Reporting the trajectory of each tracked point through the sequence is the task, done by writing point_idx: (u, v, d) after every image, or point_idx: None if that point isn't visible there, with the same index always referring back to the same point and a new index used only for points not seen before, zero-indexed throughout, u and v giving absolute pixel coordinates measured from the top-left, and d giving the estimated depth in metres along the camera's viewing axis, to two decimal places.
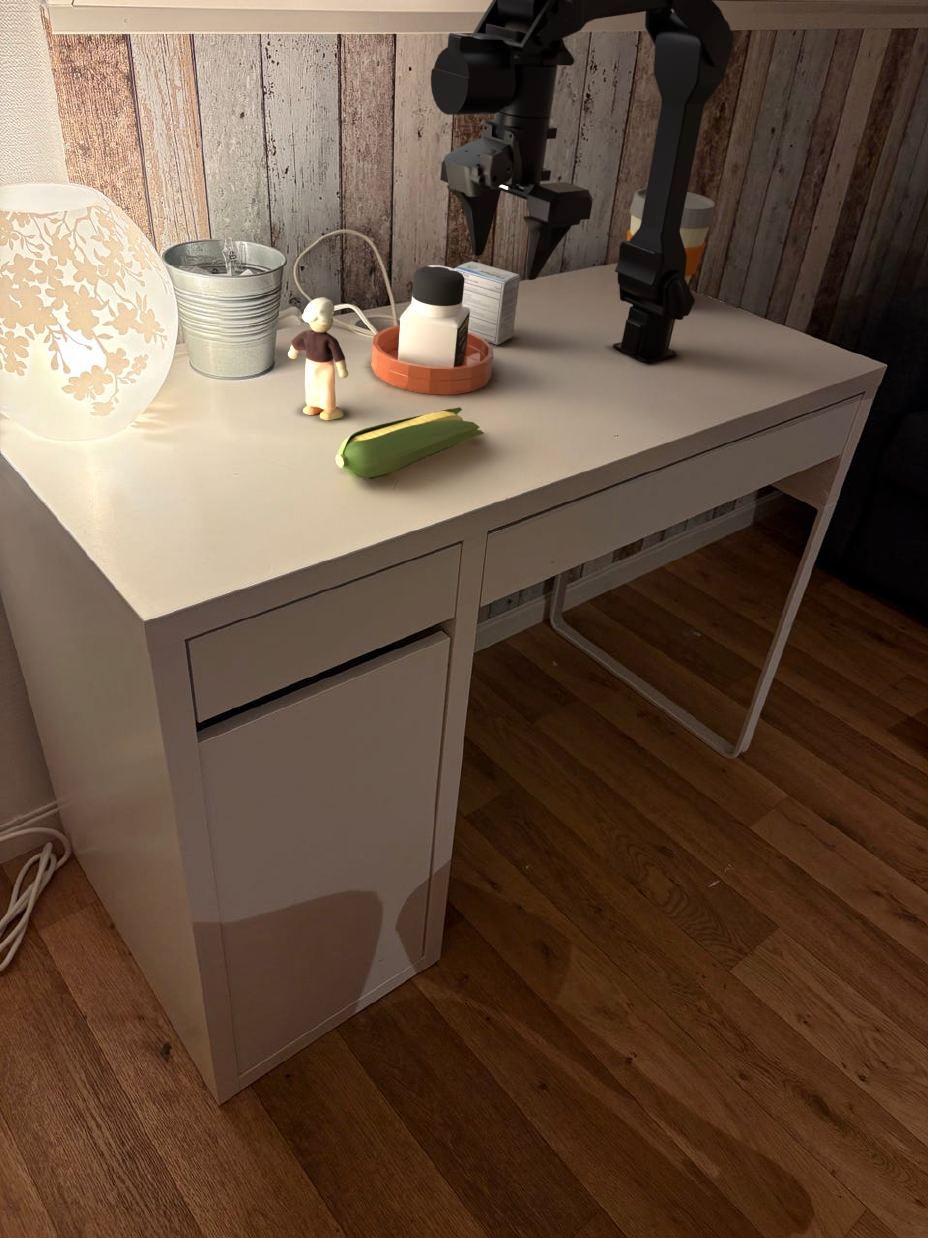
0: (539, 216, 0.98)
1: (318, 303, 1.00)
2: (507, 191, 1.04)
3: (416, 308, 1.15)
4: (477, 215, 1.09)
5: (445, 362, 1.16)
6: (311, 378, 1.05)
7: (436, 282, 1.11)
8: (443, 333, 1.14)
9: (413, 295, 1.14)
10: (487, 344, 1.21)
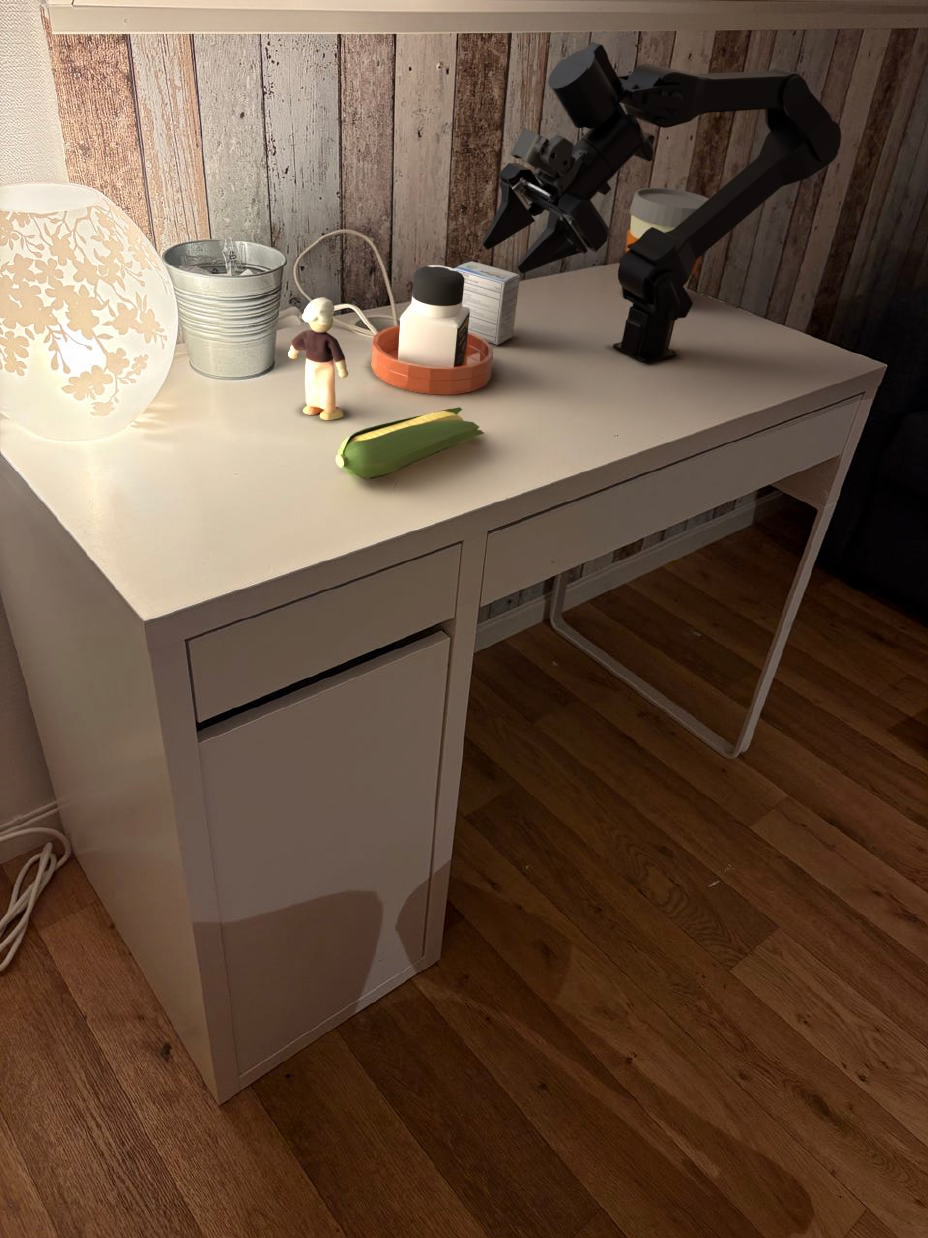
0: (565, 208, 1.07)
1: (318, 303, 1.00)
2: (544, 204, 1.15)
3: (416, 308, 1.15)
4: (506, 216, 1.18)
5: (445, 362, 1.16)
6: (311, 378, 1.05)
7: (436, 282, 1.11)
8: (443, 333, 1.14)
9: (413, 295, 1.14)
10: (487, 344, 1.21)
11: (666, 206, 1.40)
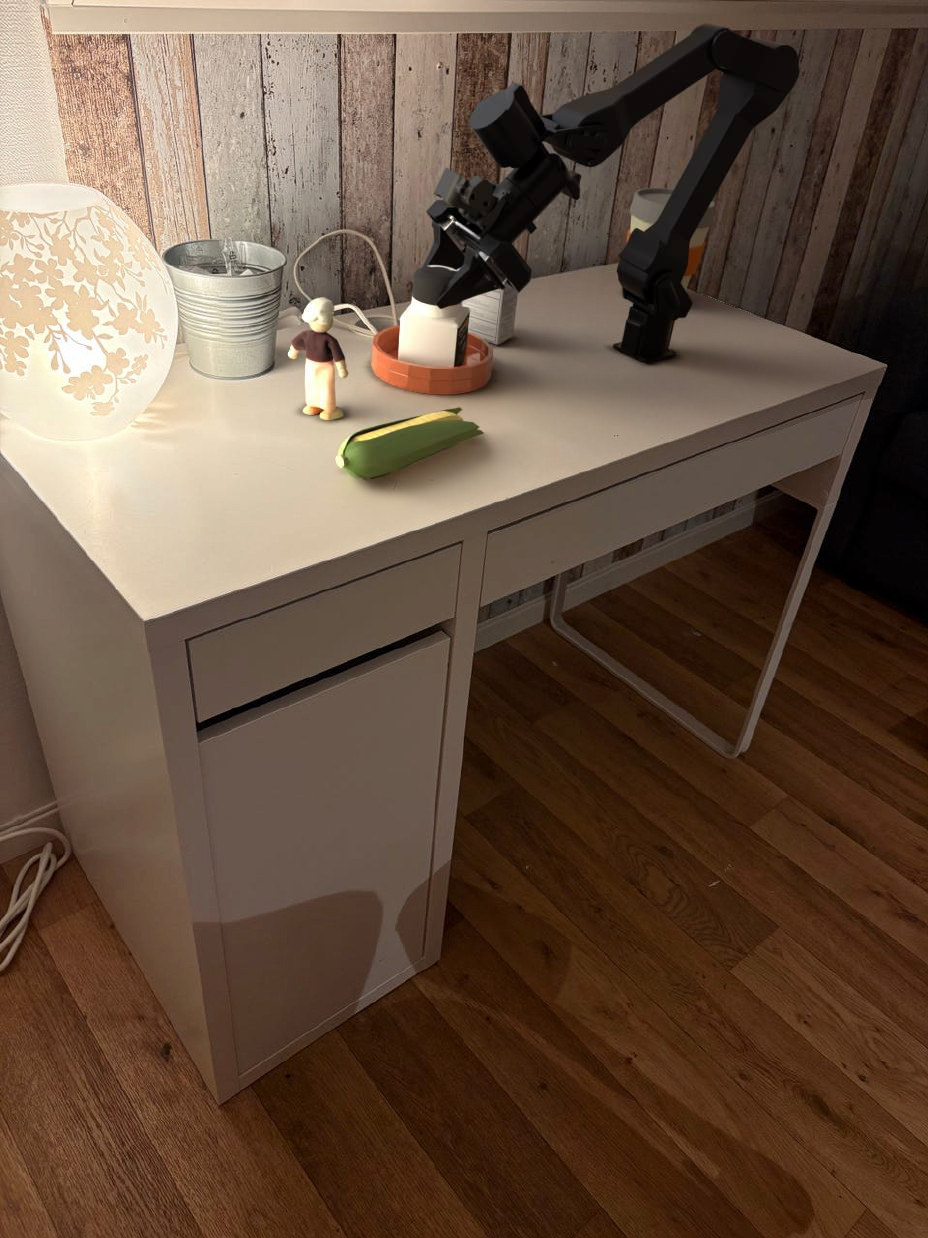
0: (485, 250, 1.06)
1: (318, 303, 1.00)
2: (470, 243, 1.14)
3: (416, 308, 1.15)
4: (438, 257, 1.16)
5: (445, 362, 1.16)
6: (311, 378, 1.05)
7: (436, 282, 1.11)
8: (443, 333, 1.14)
9: (413, 295, 1.14)
10: (487, 344, 1.21)
11: None
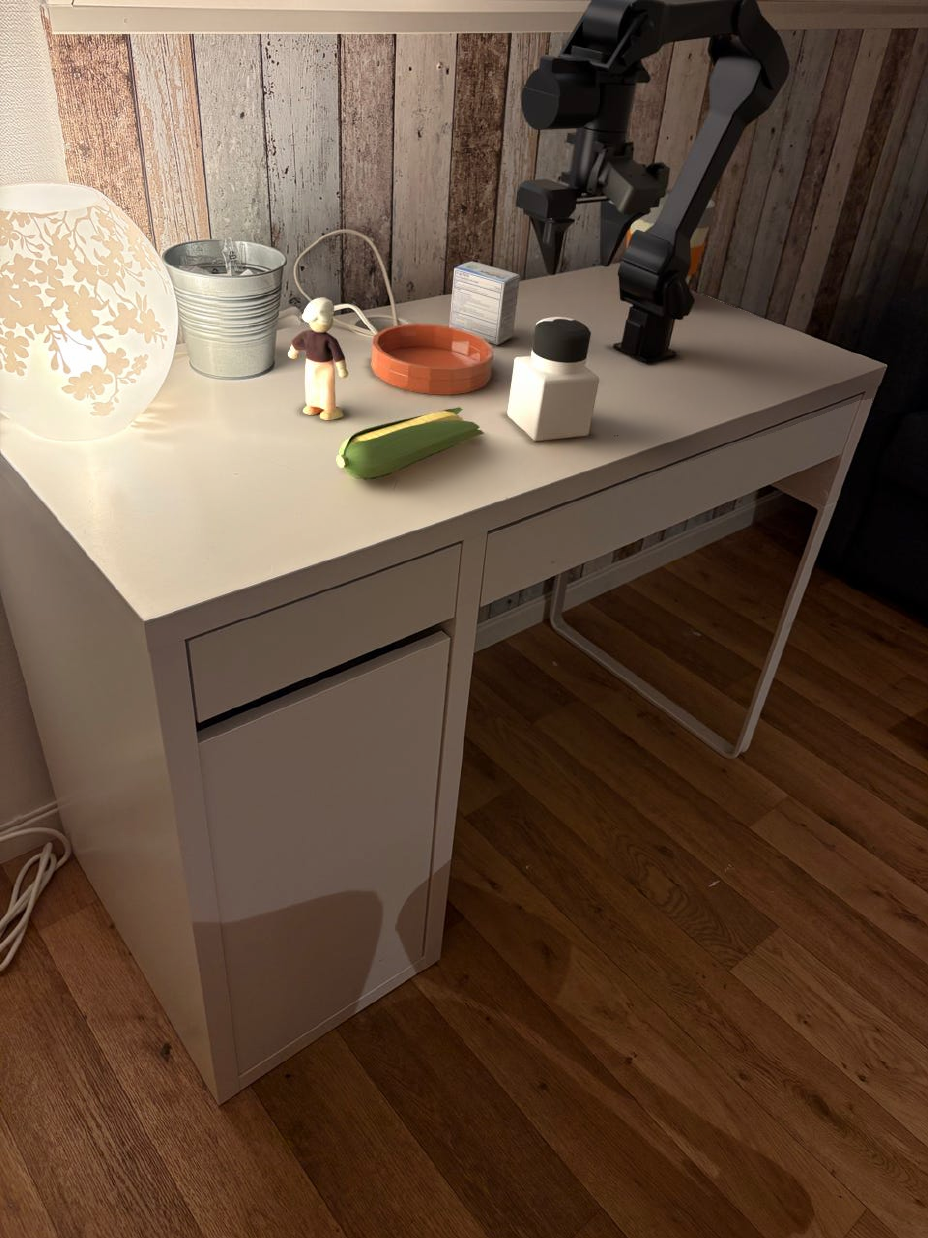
0: (652, 205, 1.15)
1: (318, 303, 1.00)
2: (589, 201, 1.11)
3: (548, 369, 1.04)
4: None
5: (583, 418, 1.08)
6: (311, 378, 1.05)
7: (578, 337, 1.02)
8: (585, 389, 1.05)
9: (545, 356, 1.03)
10: (487, 344, 1.21)
11: None
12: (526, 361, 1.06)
